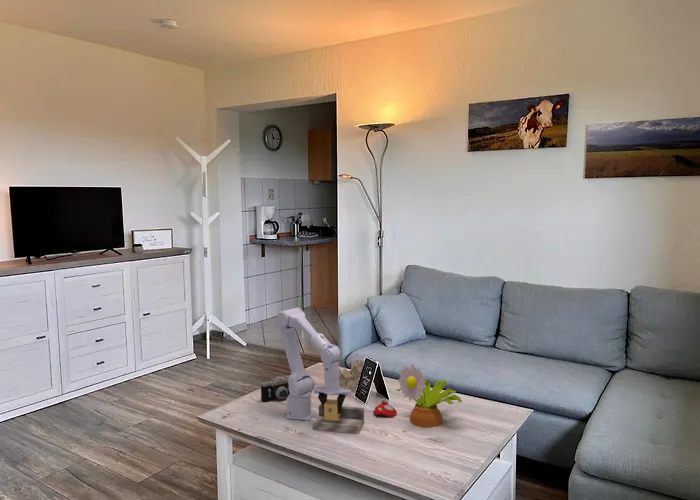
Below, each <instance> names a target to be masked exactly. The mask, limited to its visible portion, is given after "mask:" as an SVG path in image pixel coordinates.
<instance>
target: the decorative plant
mask: <svg viewBox="0 0 700 500" xmlns="http://www.w3.org/2000/svg"><path fill="white" fill-rule="evenodd" d="M402 368H403V369H401V370H398V374H399V375H400V376H399V379H397V382H398V383H399V386H400V388H398V389H397V388H396V389H395V391H398V392H401V393H402V394H403V398H408V401H410V402H411V401H412V400H413V401H414V402H416V403H415V404H414V408H412V410H411V412H410V416H409V422H410V423H411V424H412V425H413V426H416V427H420V428H430V429H431V428H436V427H438V426H441V425H442V424H443V423H444V421H443V415H442V413H441V411H440V409H439V408H438V404H440V403H442V402H446V403H447V404H448V405H453V403H454V401H458V403H462V402H463V401H462V399H461V397H460V396H458V395H456V394H455V393H457V391H456V390H453V389H451V388H450V387H448V388H447V389H445V390H444V387H445V386H446V385H447V383H448V382H447V379H444V380H439V379H437V380H436V381H435V383H434V386H433V387H432V388H431V380H430V379H427V376H426V375H422V374H423V373H421V368H420V367H419V368H417V367H415V365H414V363H412V364H411V366H410V367H408V366H405V365H403V367H402ZM426 379H427V380H426ZM451 394H452V395H451Z"/></svg>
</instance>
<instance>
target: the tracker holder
mask: <svg viewBox="0 0 700 500" xmlns="http://www.w3.org/2000/svg"><path fill="white" fill-rule="evenodd" d="M372 413H373V414H374V415H375V416H378V415H382V416H386V417H389V418H395V417H396V416H397V414H398V412H397V409H395V408H394V407H393V406H391V405H389V403H388V400H385V399H382V398H381V403H380V404H378V405H376V406H375V407H374V410H373V412H372Z"/></svg>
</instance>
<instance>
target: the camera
mask: <svg viewBox="0 0 700 500" xmlns="http://www.w3.org/2000/svg"><path fill="white" fill-rule="evenodd" d="M289 377H290V375H285V376H282V375H280V376H275V378H271V379H270V380H269V381H266V380H264V381H262V382H261V383H260V395H261V397H260V399H261V402H262V403H269V402H274V401H278V400H284V399H285V398H286V399H287V398H288V395H289V394H290V392H289V383H288V378H289Z"/></svg>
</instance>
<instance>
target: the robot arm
mask: <svg viewBox="0 0 700 500" xmlns="http://www.w3.org/2000/svg"><path fill="white" fill-rule="evenodd" d="M275 320H276V323H277V326H278V330H279V334H280V337H281V340H282V341H281V342H282V344H283V348H284V352H285V356H286V359H287V362H288V365H289V368H290V369H289V370H290V372H291V374H290V375H289V376H290V377H289V378H288V383H289V392H290V394H289V395H288V397H287V398H286V419H291V420H292V419H293V420H298V421H299V420H302V421H310V419H311V418H312V417H313V415H314V414H315V411H313V410H312V397H311V396H312V393H313V395H314V394H318V395H317V398H318V400H319V401H320V404H322V407H323V410H324V404H325V402H326V401H327V399H328V396H332V395H336V396H337V397H336V400H337V402H338V414H340V413H341V409H342V406H343V404H344V401H345V399H346V397H348V398H349V397H351V395H352V392H351V390H348V389H343V388H339V369H340V360H341V359H342V358H343V352H342V349H341V348H340V347H339V346H338V345H335V344H332V343H331V342H330V341H329V340H328V338H326V336H325V335H324V333H321V332H320V333H319V332H317V331H316V330H315V328H314V327H313V326H312V324H311V323H310V322H309V321H308V319H307V318H306V313H305V312H304V311H303V309H302V308H301V307H294V308H290V309H286V310H285V309H284V310H280V311H279V312H278V313H277V316H276V319H275ZM296 328H299V329H300V330H301V332H303V333H304V335H306V336H307V337H308V338H309V339H310V345H311V346H312V347H313V348H314V349H315V350H316V351H317V352H318V353H319V354H320V355H319V356H320V360H321V362H322V366H323V370H324V371H323V375H324V386H315V380H314V378H313V377H312V375H311V372H310V371H307V370H306V368H305V367H304V364H303V361H302V356H301V354H300V350H299V346H298V343H297V339H296V336H295V335H296V334H295V331H296Z"/></svg>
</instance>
